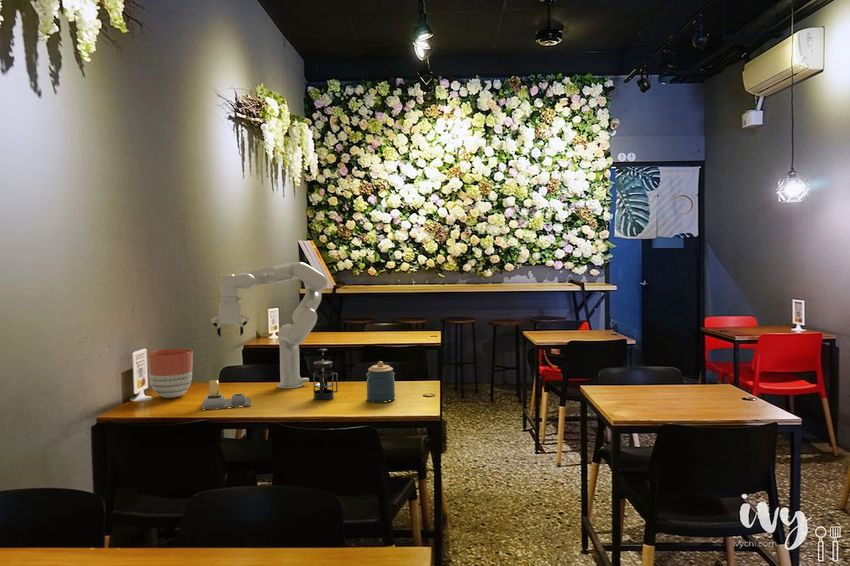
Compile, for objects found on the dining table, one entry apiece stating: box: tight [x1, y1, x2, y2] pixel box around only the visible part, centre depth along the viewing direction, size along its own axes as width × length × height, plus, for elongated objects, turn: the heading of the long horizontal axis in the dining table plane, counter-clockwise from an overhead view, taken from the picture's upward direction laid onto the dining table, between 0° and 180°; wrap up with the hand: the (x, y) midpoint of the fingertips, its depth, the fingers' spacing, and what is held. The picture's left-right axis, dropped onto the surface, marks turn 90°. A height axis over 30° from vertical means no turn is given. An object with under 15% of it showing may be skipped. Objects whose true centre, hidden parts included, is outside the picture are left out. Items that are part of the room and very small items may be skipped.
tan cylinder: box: [208, 379, 220, 399], centre depth 256 cm, size 4×4×10 cm
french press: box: [312, 348, 339, 401], centre depth 267 cm, size 12×9×23 cm
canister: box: [365, 360, 396, 403], centre depth 264 cm, size 13×13×18 cm
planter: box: [147, 348, 194, 399], centre depth 273 cm, size 20×20×21 cm
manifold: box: [201, 393, 251, 411], centre depth 257 cm, size 20×14×4 cm
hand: (230, 335), depth 277 cm, fingers open, 9 cm apart
